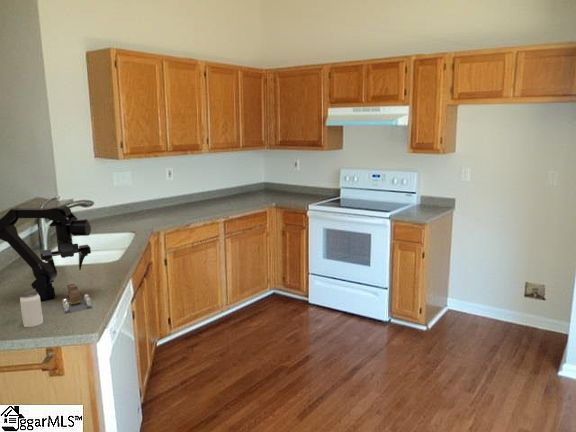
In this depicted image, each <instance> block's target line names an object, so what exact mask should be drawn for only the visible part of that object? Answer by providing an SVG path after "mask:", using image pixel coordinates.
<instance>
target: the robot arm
mask: <svg viewBox="0 0 576 432" xmlns="http://www.w3.org/2000/svg"><path fill="white" fill-rule="evenodd" d="M19 219H46V220H49V221H52V222H51V223H50V224H49V227H54V228H55V235H56V238H55V239H56V244H57V245H56V247H57V250H55V251H52V250H51V249H45V250H41V251H40V253H39V255H40V257H39V256H38V255H37V254H36V253H35V251H33V249H31V247H30V246H29V245H28V244H27V243H26V242H25V240H24V239H23V238H21V236H20V235H19V233H18V229H17V227H16V223H17V222H18V221H19ZM91 227H92V226H91V224H90V223H89V221H88V219H87V218H86V219H85V218H84V219H78V217H76V216H75V214H74V213H73V212H72V210H71V208H70V207H69V206H68V205H67V204H63V205H62V204H61V205H58V206H57V205H55V206H52V207H45V208H44V207H14V208H11V209H9V210H8V211H7V213H6V214H4V215H3V216H2V217H1V218H0V240H2V241H3V242H5V243H7V244H8V245H9V246H10V247H11V248H12V249H13V250H14V251H15V252H16V254H18V255H19V256H20V258H21V259H23V261H24V262H26V264H27V265H28V266H29V267H30V268H31V270H32V274H33V277H34V278H35V280H34V281H33V282H32V283H31V284H30V285H31V287H32V289H33V290H35V292H38V295H39V296H40V301H41V302H46V301H50V300H51V301H52V300H55V297H56V292H55V287H54V286H53V284H52V283H54V282H55V279H56V278H57V276H58V270H57V266H56V265H55V261H54V258H53V257H57V256H60V258H62V259H64V258H65V259H66V258H68V257H69V258H72V257H74V256H75V254H77V253H78V270H79V271H81V269H82V265H83V262H84V259H85V257H87V256H89V254H92V250H91V247H90V246H89V244H81V245H79V244H78V243H73V236H75V237H81V236H86V237H88V236H90V234H91V232H92V231H91V230H92V228H91ZM72 235H73V236H72Z"/></svg>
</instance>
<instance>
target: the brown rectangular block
mask: <svg viewBox="0 0 576 432" xmlns="http://www.w3.org/2000/svg"><path fill="white" fill-rule="evenodd" d="M66 287H67V288H66V289H67V293H68V294H67V295H68V298H69V303H70V302H75V301H80V300H82V296H81V291H79V289H78V286H77V285H76V284H75V283H69V284H66Z"/></svg>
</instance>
